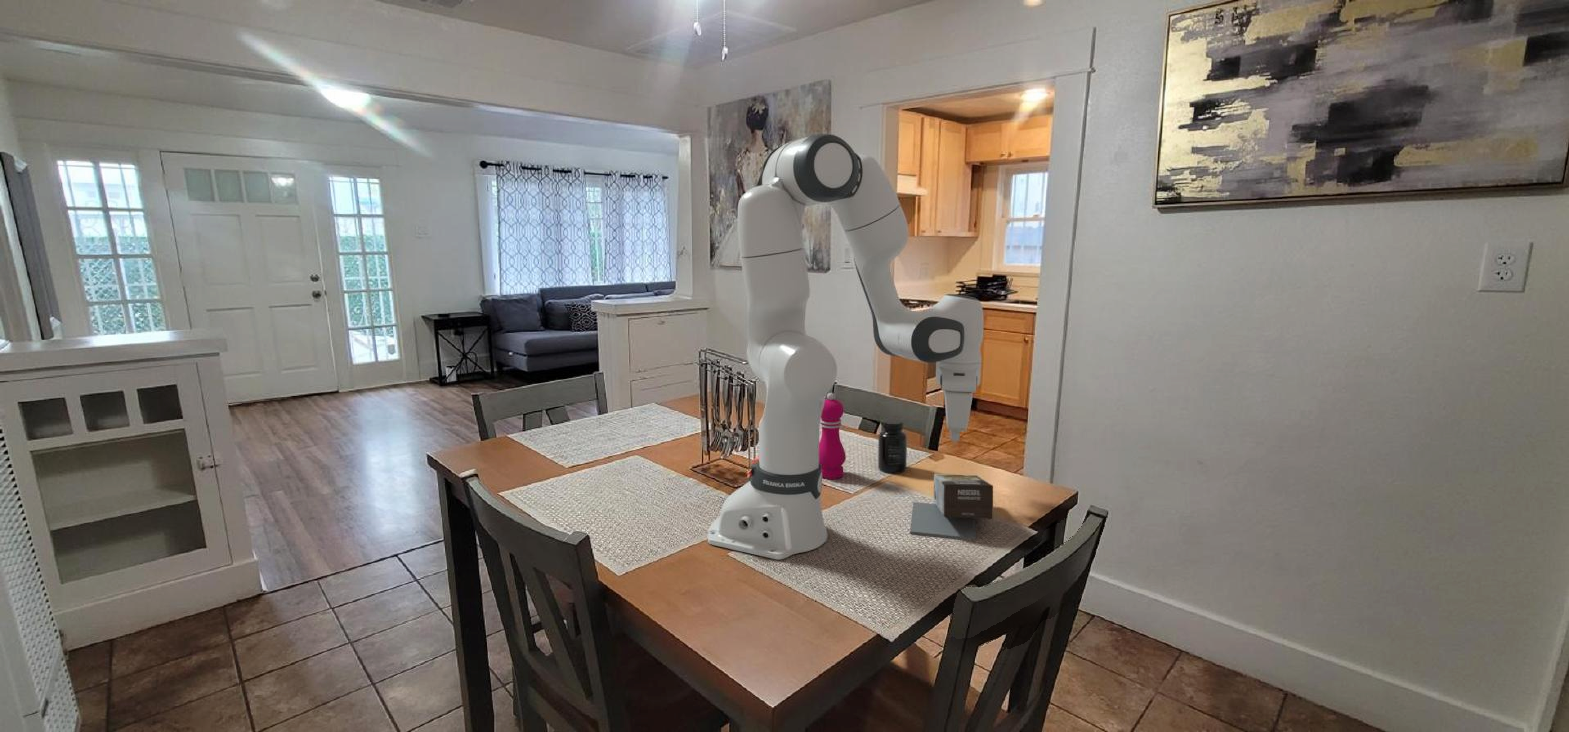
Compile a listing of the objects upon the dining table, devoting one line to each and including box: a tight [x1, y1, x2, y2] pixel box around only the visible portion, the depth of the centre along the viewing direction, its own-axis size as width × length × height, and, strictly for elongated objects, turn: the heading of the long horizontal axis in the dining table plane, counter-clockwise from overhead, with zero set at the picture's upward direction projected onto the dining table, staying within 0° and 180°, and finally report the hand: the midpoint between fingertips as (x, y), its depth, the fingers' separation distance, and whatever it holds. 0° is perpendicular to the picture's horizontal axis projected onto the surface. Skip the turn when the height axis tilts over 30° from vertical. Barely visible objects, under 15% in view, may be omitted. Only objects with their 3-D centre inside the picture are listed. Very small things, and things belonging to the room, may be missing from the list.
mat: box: [909, 501, 977, 541], centre depth 123 cm, size 12×14×1 cm
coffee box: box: [933, 473, 994, 520], centre depth 124 cm, size 9×6×16 cm
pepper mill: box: [819, 392, 847, 480], centre depth 147 cm, size 7×7×20 cm
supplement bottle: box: [877, 418, 908, 474], centre depth 151 cm, size 7×7×12 cm
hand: (954, 439), depth 130 cm, fingers closed
